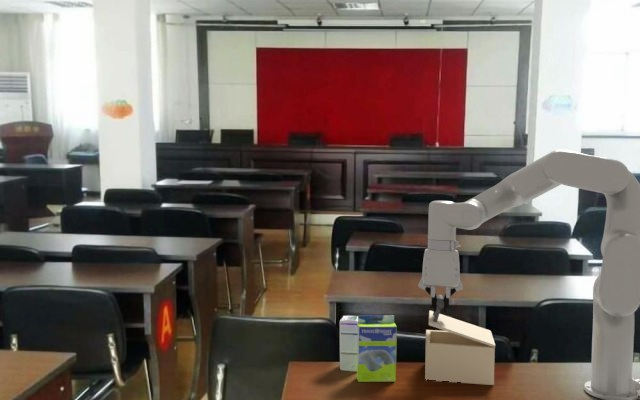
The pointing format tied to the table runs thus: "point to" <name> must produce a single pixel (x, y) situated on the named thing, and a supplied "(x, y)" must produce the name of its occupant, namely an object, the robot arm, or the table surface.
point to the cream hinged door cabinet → (458, 359)
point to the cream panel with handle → (459, 325)
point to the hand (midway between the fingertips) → (440, 310)
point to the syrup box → (348, 343)
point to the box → (376, 349)
